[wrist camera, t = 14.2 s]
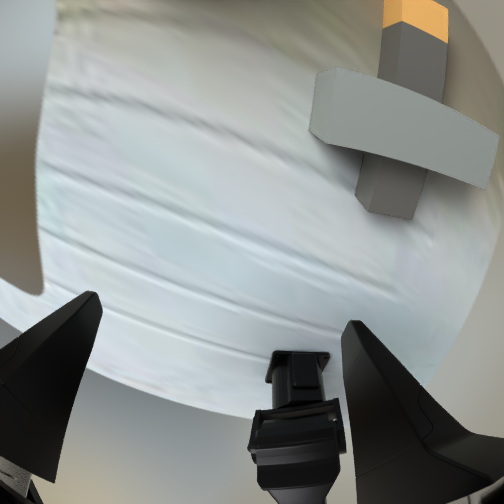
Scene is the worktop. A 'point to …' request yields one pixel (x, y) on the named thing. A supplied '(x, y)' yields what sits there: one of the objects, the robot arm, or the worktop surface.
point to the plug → (415, 79)
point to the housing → (400, 126)
